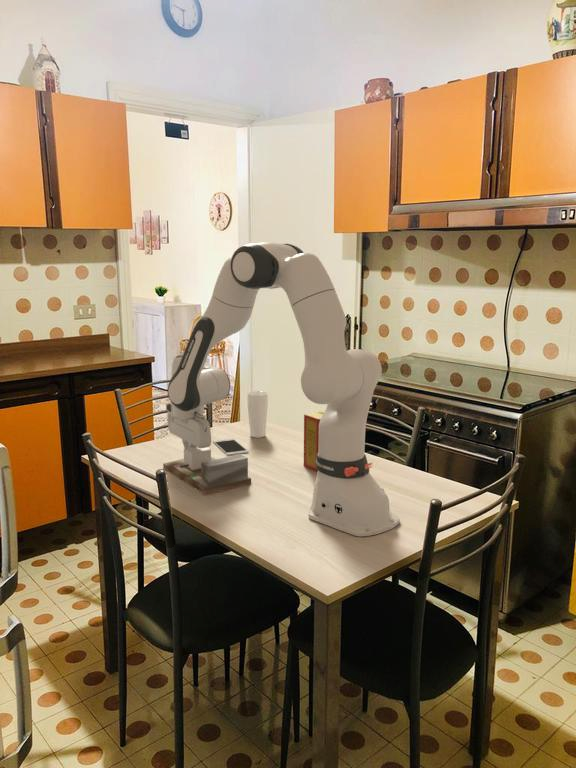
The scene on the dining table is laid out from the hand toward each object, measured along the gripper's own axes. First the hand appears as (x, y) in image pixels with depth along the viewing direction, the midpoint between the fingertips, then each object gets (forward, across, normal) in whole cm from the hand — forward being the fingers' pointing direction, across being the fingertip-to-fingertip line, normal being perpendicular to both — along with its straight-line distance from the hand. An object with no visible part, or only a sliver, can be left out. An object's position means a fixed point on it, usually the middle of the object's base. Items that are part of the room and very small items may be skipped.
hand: (189, 454), depth 184 cm
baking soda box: (+4, -22, -32) cm, 39 cm away
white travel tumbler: (+4, +14, -33) cm, 36 cm away
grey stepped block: (+4, -9, 0) cm, 10 cm away
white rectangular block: (+2, -5, +1) cm, 5 cm away
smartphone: (+4, +9, -19) cm, 21 cm away
